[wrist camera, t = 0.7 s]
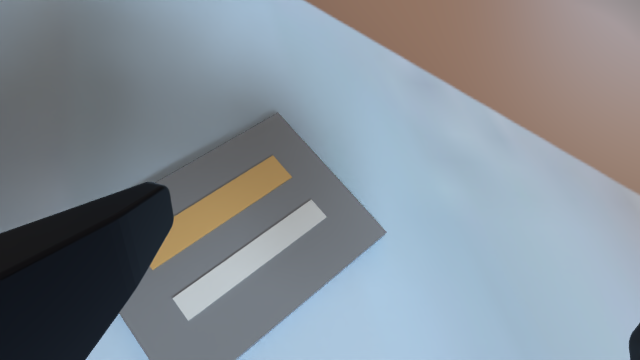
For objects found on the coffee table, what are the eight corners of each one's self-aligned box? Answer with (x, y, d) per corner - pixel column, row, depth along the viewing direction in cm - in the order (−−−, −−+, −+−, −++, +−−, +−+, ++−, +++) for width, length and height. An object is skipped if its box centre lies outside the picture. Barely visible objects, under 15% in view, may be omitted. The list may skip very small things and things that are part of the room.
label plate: (181, 405, 17) (179, 405, 17) (70, 237, 19) (65, 232, 19) (382, 236, 22) (387, 231, 22) (277, 118, 25) (278, 111, 24)
